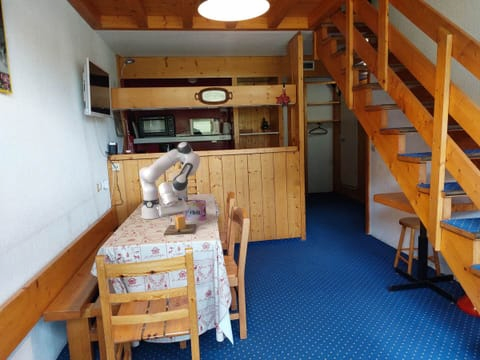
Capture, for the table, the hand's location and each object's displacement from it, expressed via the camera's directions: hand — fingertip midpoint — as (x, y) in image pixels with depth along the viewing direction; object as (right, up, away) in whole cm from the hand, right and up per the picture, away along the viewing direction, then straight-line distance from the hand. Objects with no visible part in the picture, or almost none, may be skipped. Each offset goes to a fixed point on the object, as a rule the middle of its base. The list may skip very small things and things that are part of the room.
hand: (177, 219), depth 209 cm
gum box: (+4, -3, +29) cm, 30 cm away
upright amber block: (+2, -5, -1) cm, 6 cm away
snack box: (-17, +3, +84) cm, 86 cm away
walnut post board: (+2, -7, -1) cm, 7 cm away
